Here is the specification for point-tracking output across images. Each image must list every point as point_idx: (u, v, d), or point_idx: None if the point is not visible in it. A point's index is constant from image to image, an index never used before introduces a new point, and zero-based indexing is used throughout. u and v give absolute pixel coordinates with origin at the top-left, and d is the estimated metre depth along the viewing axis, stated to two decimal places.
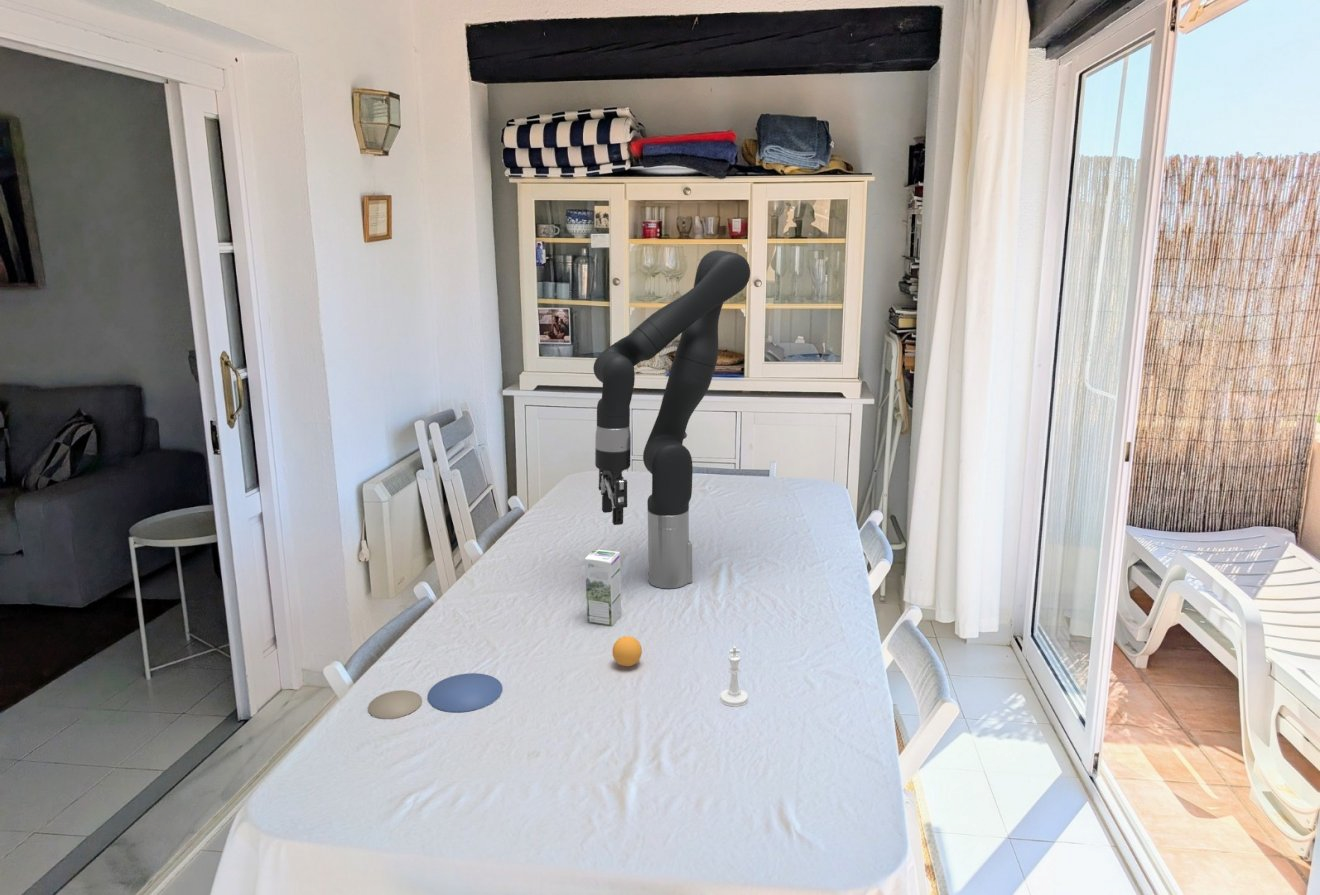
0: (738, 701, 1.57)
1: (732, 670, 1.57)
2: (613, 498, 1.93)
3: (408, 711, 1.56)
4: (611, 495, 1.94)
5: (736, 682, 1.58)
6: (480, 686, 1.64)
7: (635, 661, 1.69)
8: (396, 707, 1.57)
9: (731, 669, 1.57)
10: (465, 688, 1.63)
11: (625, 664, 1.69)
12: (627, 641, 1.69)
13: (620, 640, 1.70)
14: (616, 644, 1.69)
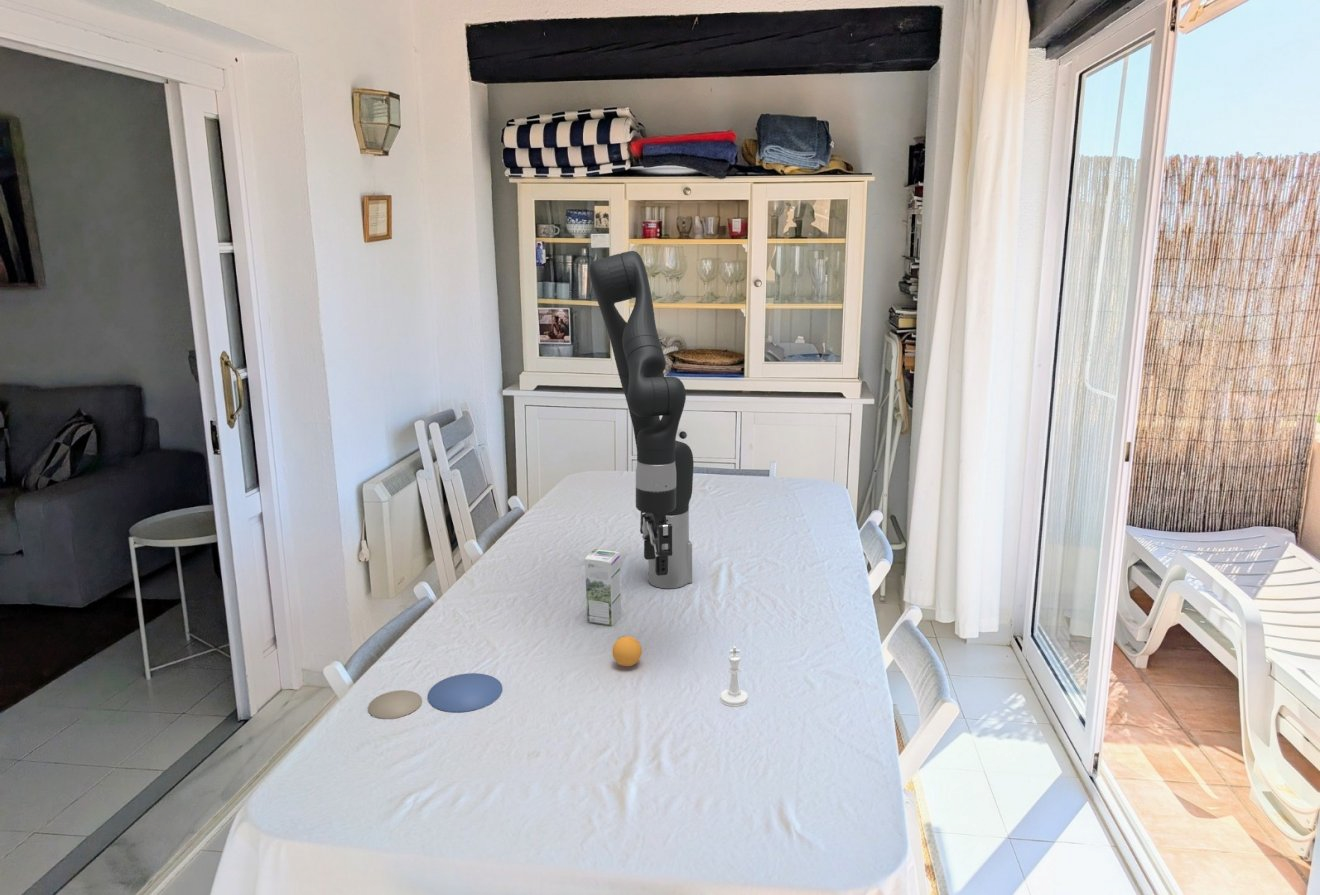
0: (738, 701, 1.57)
1: (732, 670, 1.57)
2: (656, 545, 1.67)
3: (408, 711, 1.56)
4: (654, 541, 1.67)
5: (736, 682, 1.58)
6: (480, 686, 1.64)
7: (635, 661, 1.69)
8: (396, 707, 1.57)
9: (731, 669, 1.57)
10: (465, 688, 1.63)
11: (625, 664, 1.69)
12: (627, 641, 1.69)
13: (620, 640, 1.70)
14: (616, 644, 1.69)
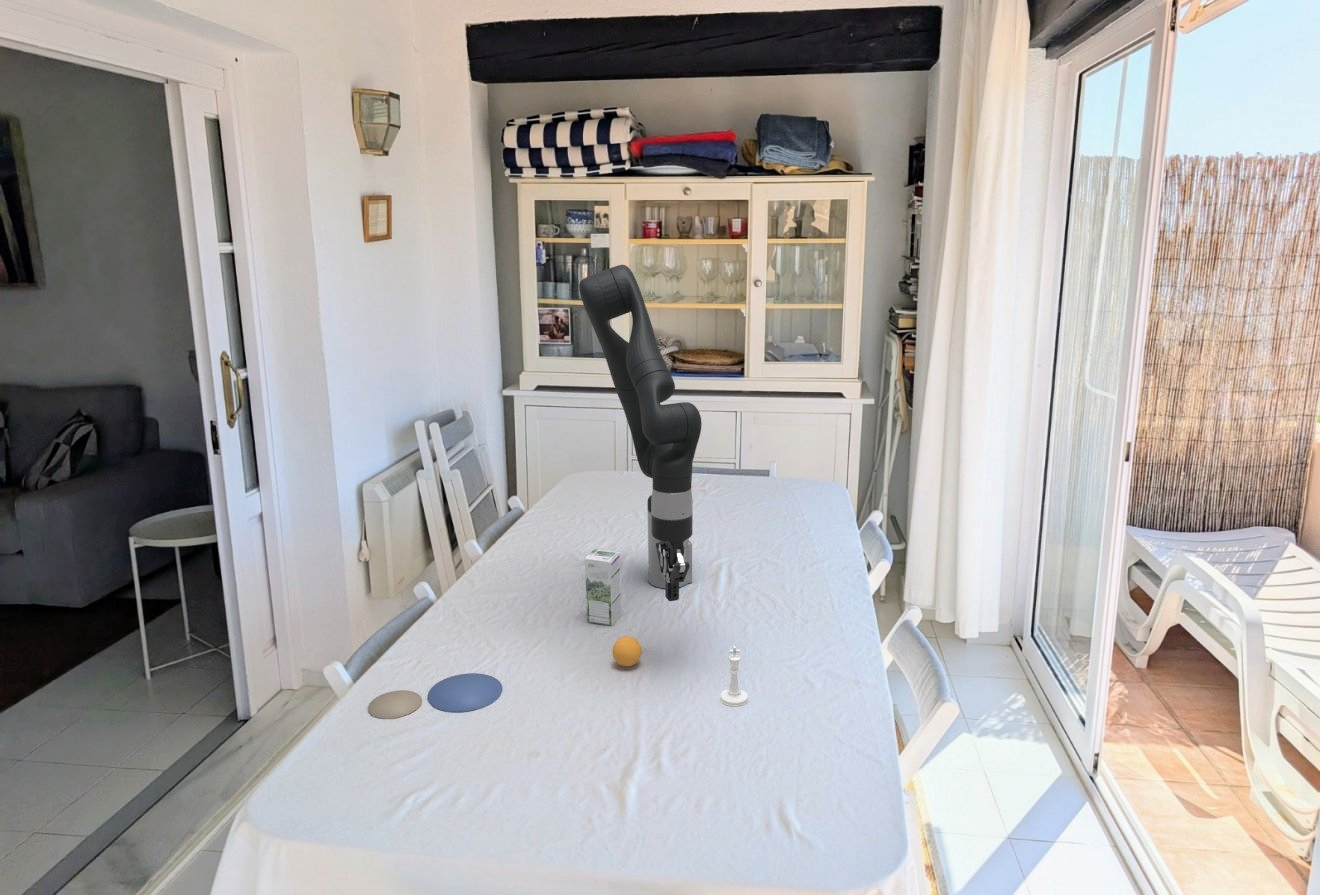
0: (738, 701, 1.57)
1: (732, 670, 1.57)
2: (669, 574, 1.68)
3: (408, 711, 1.56)
4: (667, 571, 1.67)
5: (736, 682, 1.58)
6: (480, 686, 1.64)
7: (635, 661, 1.69)
8: (396, 707, 1.57)
9: (731, 669, 1.57)
10: (465, 688, 1.63)
11: (625, 664, 1.69)
12: (627, 641, 1.69)
13: (620, 640, 1.70)
14: (616, 644, 1.69)
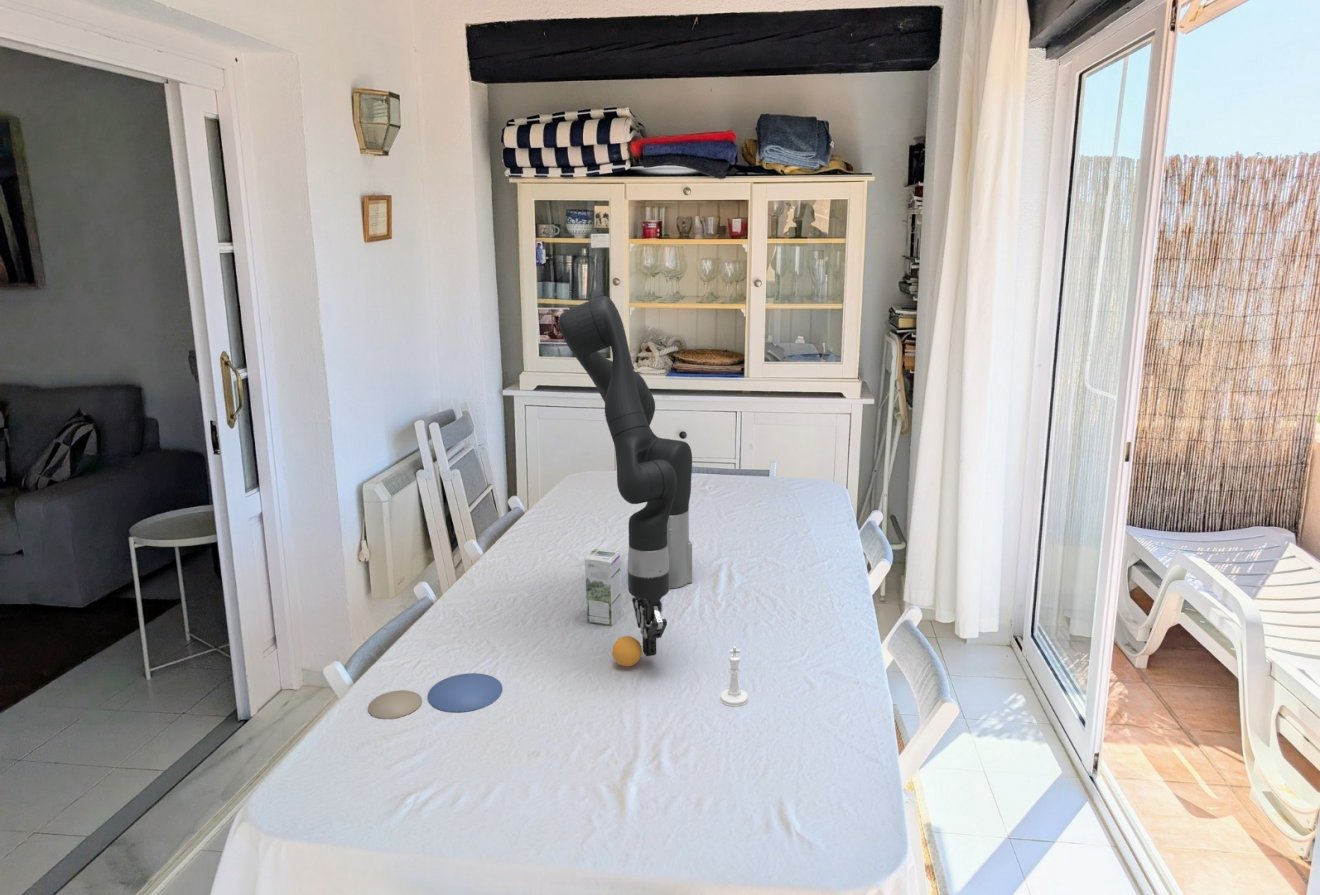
0: (738, 701, 1.57)
1: (732, 670, 1.57)
2: (646, 630, 1.68)
3: (408, 711, 1.56)
4: (645, 627, 1.68)
5: (736, 682, 1.58)
6: (480, 686, 1.64)
7: (635, 661, 1.69)
8: (396, 707, 1.57)
9: (731, 669, 1.57)
10: (465, 688, 1.63)
11: (625, 664, 1.69)
12: (627, 641, 1.69)
13: (620, 640, 1.70)
14: (616, 644, 1.69)
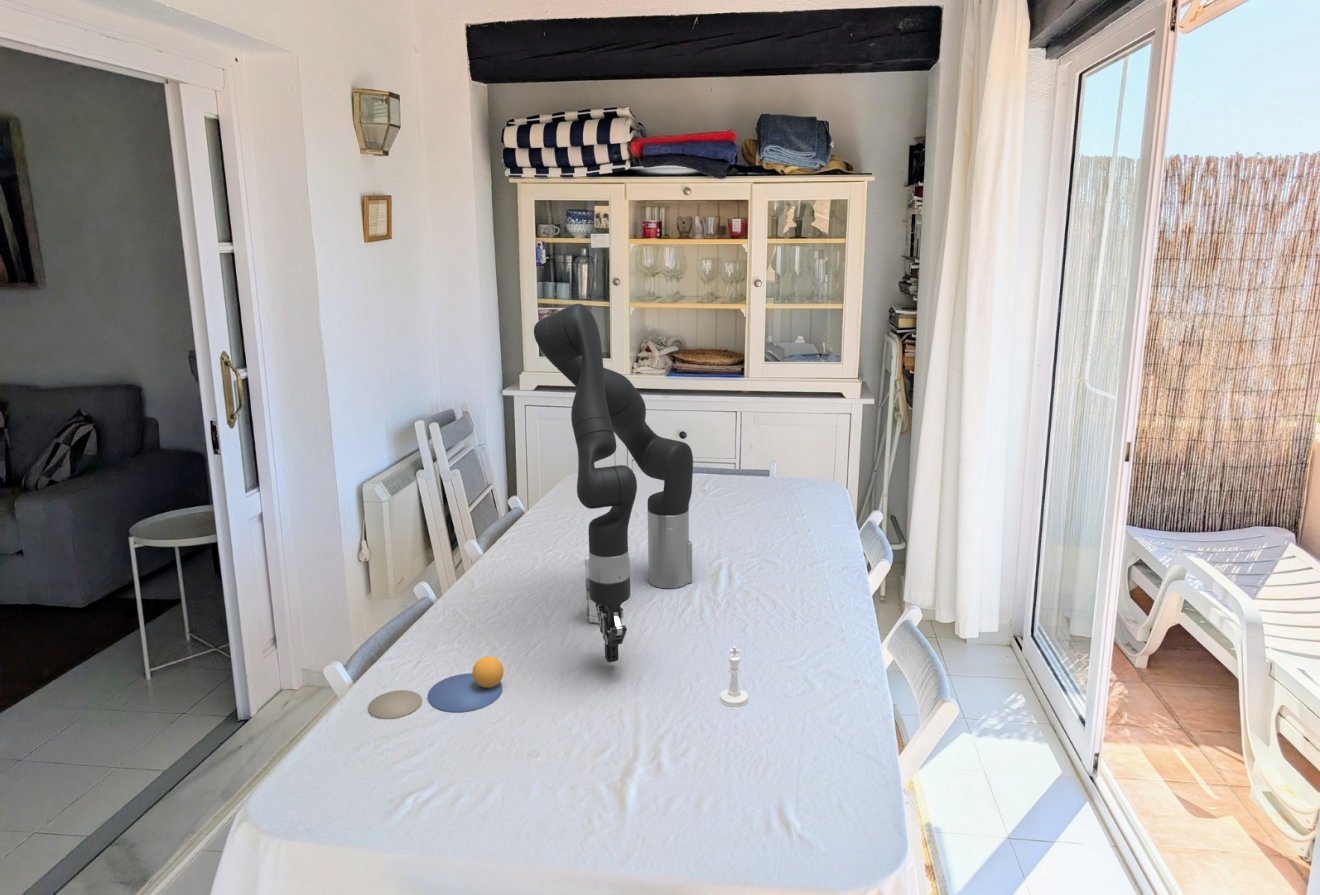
0: (738, 701, 1.57)
1: (732, 670, 1.57)
2: (607, 636, 1.67)
3: (408, 711, 1.56)
4: (606, 633, 1.66)
5: (736, 682, 1.58)
6: (480, 686, 1.64)
7: (486, 670, 1.61)
8: (396, 707, 1.57)
9: (731, 669, 1.57)
10: (465, 688, 1.63)
11: (497, 670, 1.62)
12: (484, 687, 1.63)
13: None
14: None
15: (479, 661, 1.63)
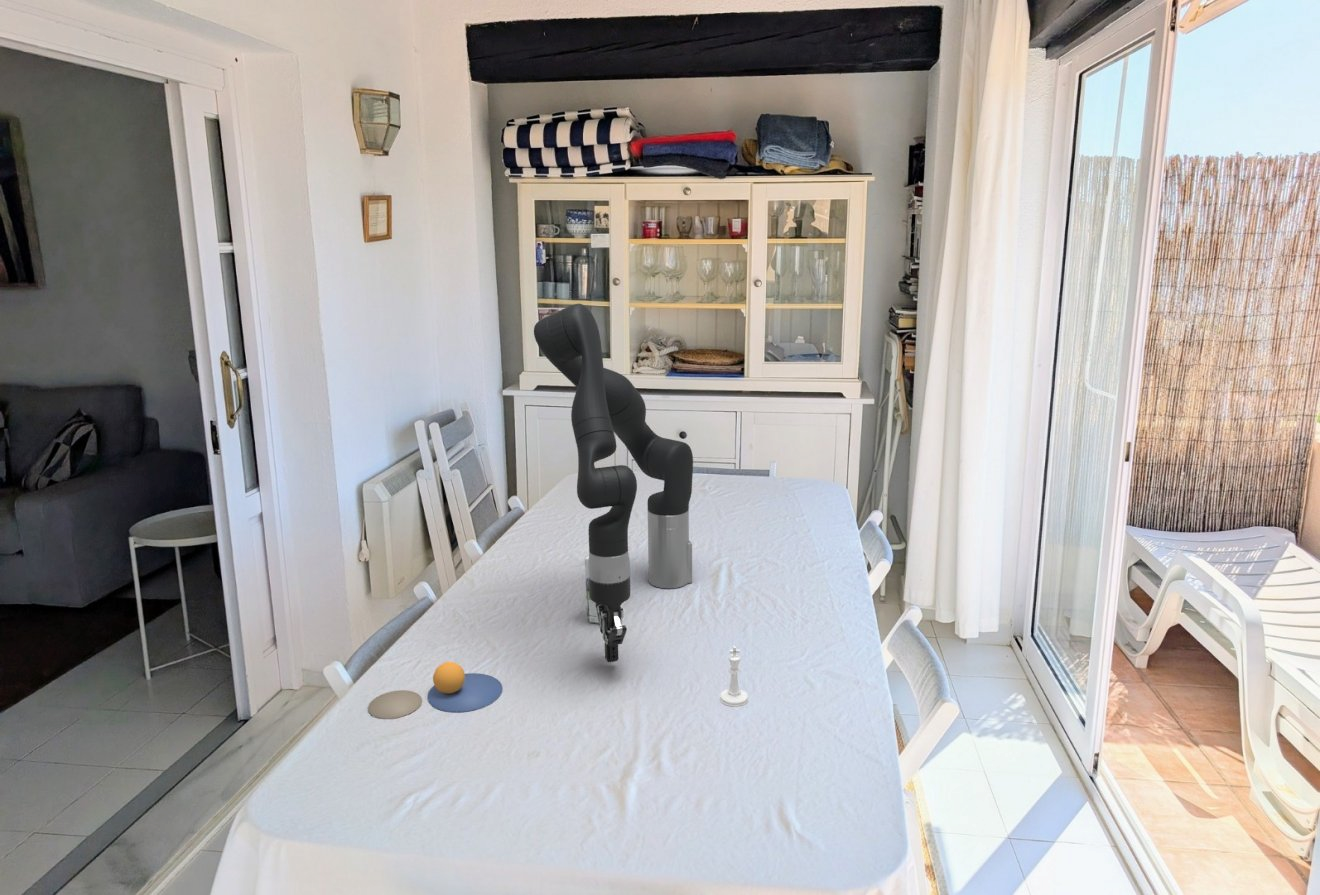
0: (738, 701, 1.57)
1: (732, 670, 1.57)
2: (607, 636, 1.67)
3: (408, 711, 1.56)
4: (606, 633, 1.66)
5: (736, 682, 1.58)
6: (480, 686, 1.64)
7: (446, 691, 1.60)
8: (396, 707, 1.57)
9: (731, 669, 1.57)
10: (465, 688, 1.63)
11: (438, 684, 1.60)
12: (461, 672, 1.61)
13: (456, 665, 1.62)
14: (451, 664, 1.61)
15: None
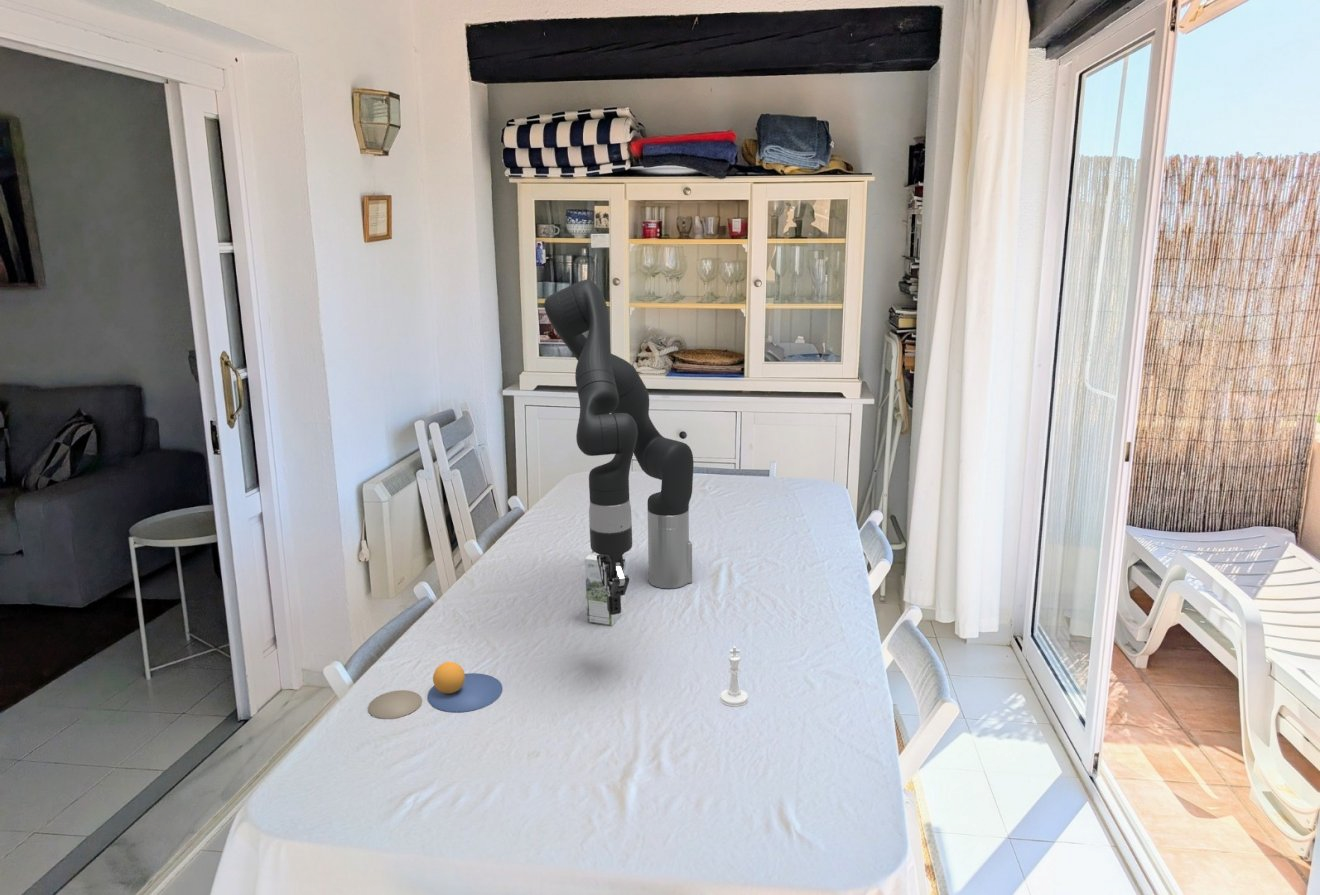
0: (738, 701, 1.57)
1: (732, 670, 1.57)
2: (610, 587, 1.64)
3: (408, 711, 1.56)
4: (608, 584, 1.64)
5: (736, 682, 1.58)
6: (480, 686, 1.64)
7: (446, 691, 1.60)
8: (396, 707, 1.57)
9: (731, 669, 1.57)
10: (465, 688, 1.63)
11: (438, 684, 1.60)
12: (461, 672, 1.61)
13: (456, 665, 1.62)
14: (451, 664, 1.61)
15: None
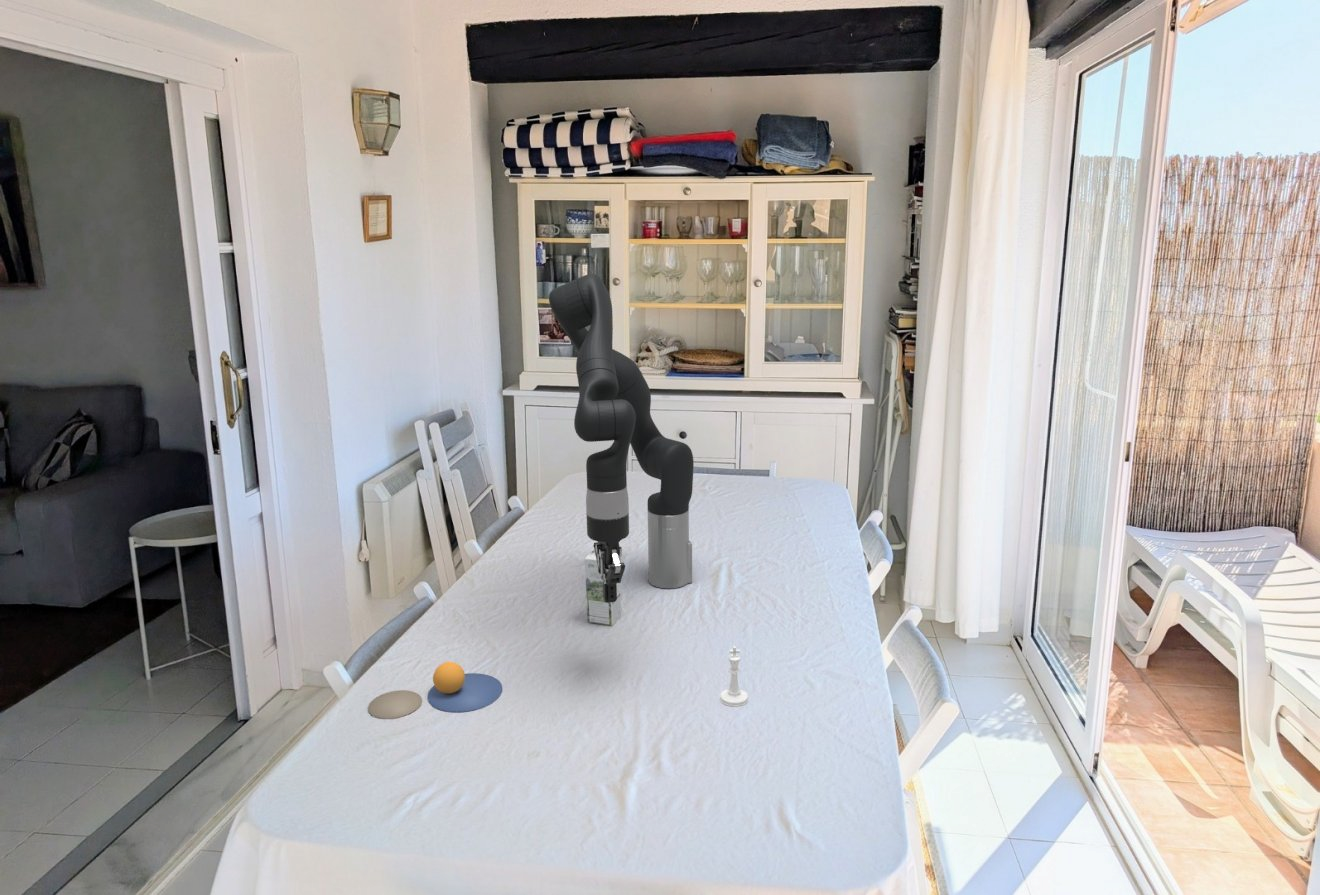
0: (738, 701, 1.57)
1: (732, 670, 1.57)
2: (606, 575, 1.64)
3: (408, 711, 1.56)
4: (604, 571, 1.63)
5: (736, 682, 1.58)
6: (480, 686, 1.64)
7: (446, 691, 1.60)
8: (396, 707, 1.57)
9: (731, 669, 1.57)
10: (465, 688, 1.63)
11: (438, 684, 1.60)
12: (461, 672, 1.61)
13: (456, 665, 1.62)
14: (451, 664, 1.61)
15: None
